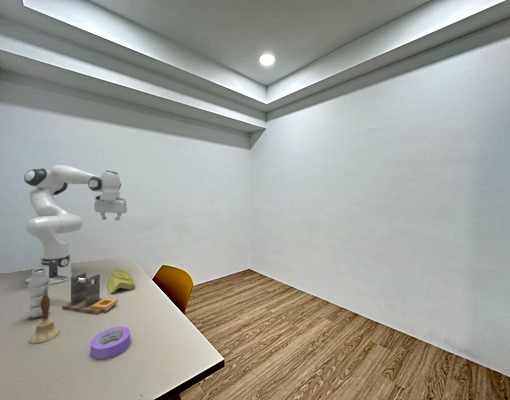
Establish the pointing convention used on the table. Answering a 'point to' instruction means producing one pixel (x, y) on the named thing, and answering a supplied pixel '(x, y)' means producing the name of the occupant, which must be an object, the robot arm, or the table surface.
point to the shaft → (54, 272)
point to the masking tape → (114, 348)
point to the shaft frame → (84, 295)
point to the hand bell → (44, 324)
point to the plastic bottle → (37, 292)
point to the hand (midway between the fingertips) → (110, 220)
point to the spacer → (105, 300)
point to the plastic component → (120, 280)
